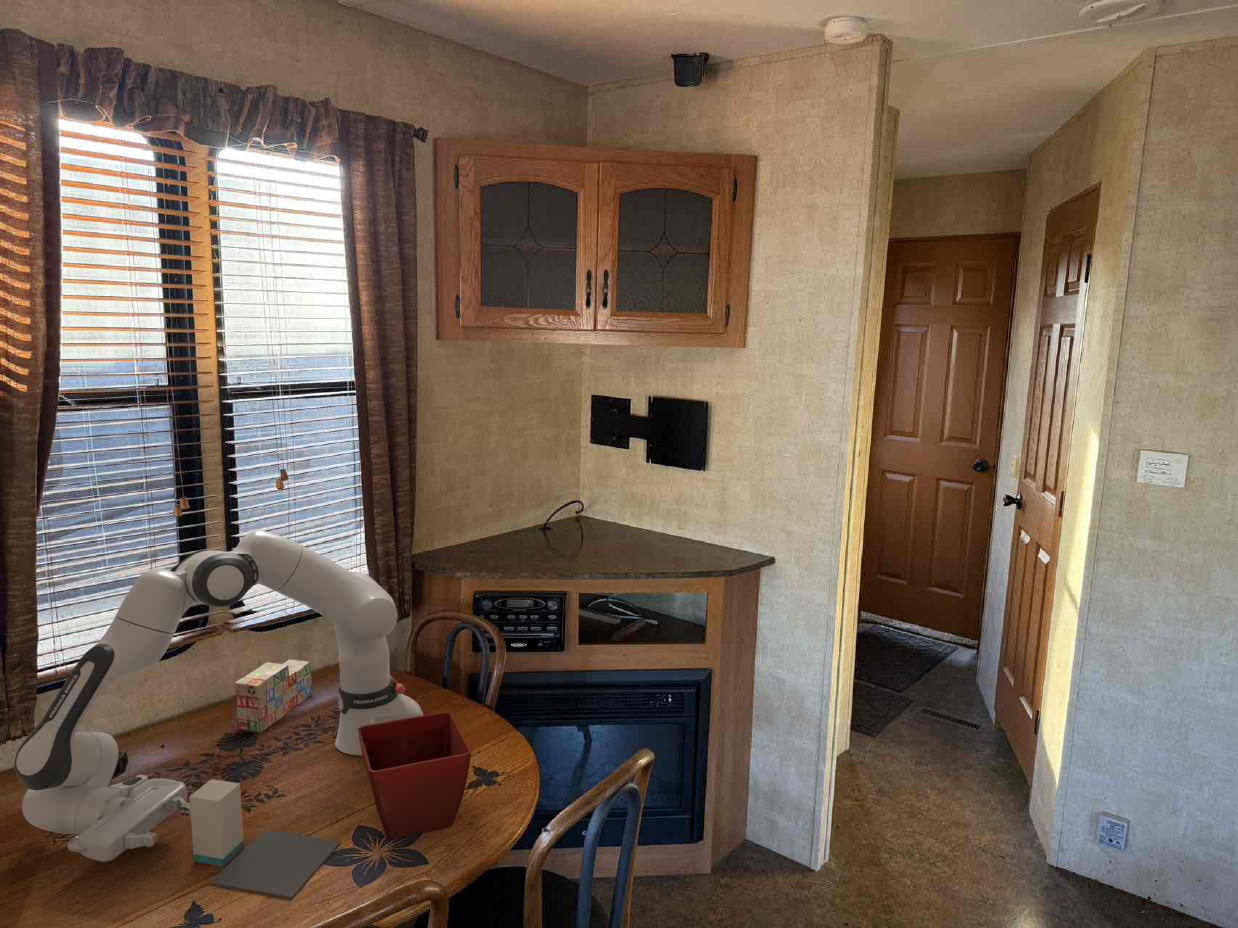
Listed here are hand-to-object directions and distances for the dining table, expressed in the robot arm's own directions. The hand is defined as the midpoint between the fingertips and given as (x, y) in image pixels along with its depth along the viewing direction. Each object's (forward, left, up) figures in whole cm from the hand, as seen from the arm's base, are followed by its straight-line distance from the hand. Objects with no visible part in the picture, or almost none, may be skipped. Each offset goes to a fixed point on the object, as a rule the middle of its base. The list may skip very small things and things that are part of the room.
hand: (173, 824), depth 156 cm
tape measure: (+9, -42, -8) cm, 44 cm away
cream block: (-7, +1, -8) cm, 11 cm away
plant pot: (-42, +8, -8) cm, 44 cm away
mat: (-15, +9, -8) cm, 20 cm away
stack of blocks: (-28, -53, -8) cm, 61 cm away
